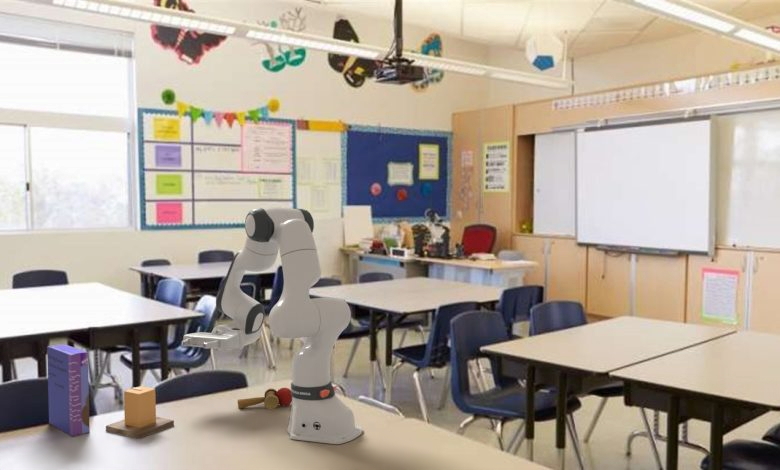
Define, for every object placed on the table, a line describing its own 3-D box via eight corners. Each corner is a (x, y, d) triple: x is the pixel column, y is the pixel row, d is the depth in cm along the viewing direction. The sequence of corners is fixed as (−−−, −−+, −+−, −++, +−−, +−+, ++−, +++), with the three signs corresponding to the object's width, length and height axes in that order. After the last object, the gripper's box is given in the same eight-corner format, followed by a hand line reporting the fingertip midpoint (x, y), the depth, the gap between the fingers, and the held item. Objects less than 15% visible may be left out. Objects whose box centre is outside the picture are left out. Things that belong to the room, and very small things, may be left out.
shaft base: (173, 425, 198) (173, 399, 197) (139, 438, 186) (138, 411, 186) (141, 418, 204) (141, 392, 204) (105, 430, 193) (105, 404, 193)
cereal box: (89, 432, 192) (87, 351, 191) (72, 436, 188) (71, 354, 187) (65, 419, 203) (63, 343, 202) (49, 423, 200) (47, 345, 199)
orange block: (155, 421, 197) (155, 387, 196) (139, 427, 191) (139, 393, 191) (141, 418, 200) (140, 385, 199) (124, 424, 194) (124, 390, 194)
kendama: (239, 416, 210) (295, 405, 214) (236, 397, 211) (291, 386, 214) (240, 413, 218) (294, 402, 221) (237, 394, 218) (291, 384, 222)
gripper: (200, 326, 227) (170, 333, 214) (246, 330, 217) (217, 337, 205) (201, 344, 227) (170, 352, 214) (247, 349, 217) (218, 357, 205)
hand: (193, 344), depth 210 cm, fingers open, 8 cm apart
